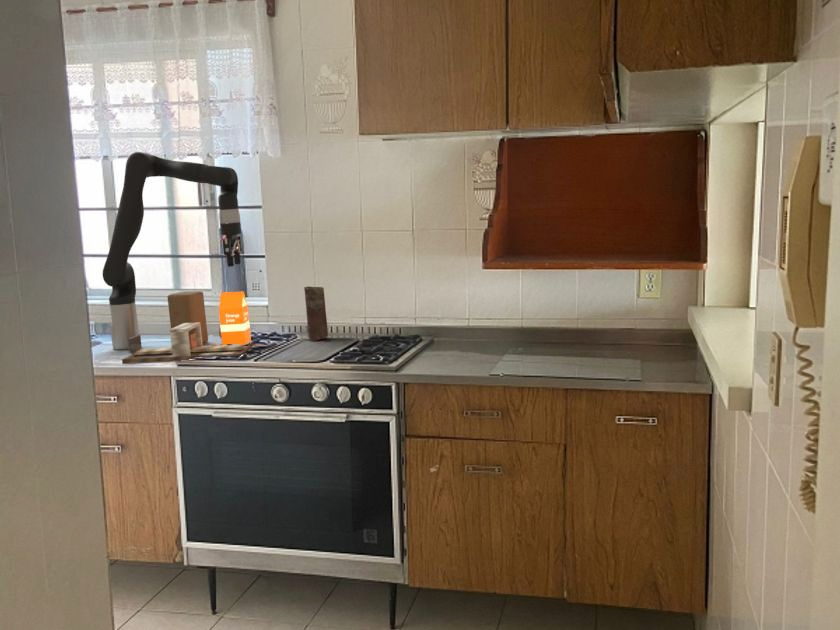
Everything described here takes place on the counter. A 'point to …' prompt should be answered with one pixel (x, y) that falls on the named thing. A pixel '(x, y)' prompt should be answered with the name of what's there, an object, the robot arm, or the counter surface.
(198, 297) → the wooden block
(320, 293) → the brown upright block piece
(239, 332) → the orange juice
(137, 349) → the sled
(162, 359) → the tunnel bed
